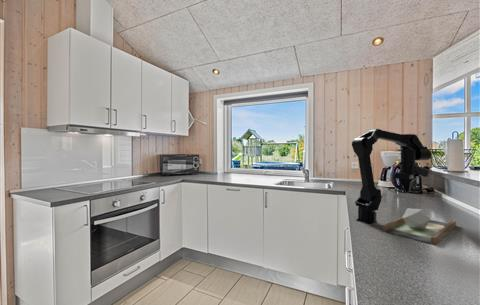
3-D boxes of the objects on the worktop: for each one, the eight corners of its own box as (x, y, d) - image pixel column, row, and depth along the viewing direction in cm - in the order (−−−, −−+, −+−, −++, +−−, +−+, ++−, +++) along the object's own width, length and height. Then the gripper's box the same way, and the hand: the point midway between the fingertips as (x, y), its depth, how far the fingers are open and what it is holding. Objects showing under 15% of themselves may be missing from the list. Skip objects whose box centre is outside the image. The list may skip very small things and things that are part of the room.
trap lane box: (383, 231, 88) (383, 225, 88) (411, 216, 108) (411, 212, 108) (434, 245, 75) (434, 238, 75) (455, 225, 95) (455, 220, 95)
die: (425, 234, 85) (437, 214, 86) (402, 220, 89) (414, 201, 90) (417, 235, 93) (428, 216, 94) (395, 222, 97) (406, 204, 98)
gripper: (423, 161, 93) (422, 197, 93) (435, 160, 103) (434, 192, 104) (393, 160, 102) (392, 193, 102) (407, 159, 112) (406, 189, 113)
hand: (407, 192), depth 105 cm, fingers closed
